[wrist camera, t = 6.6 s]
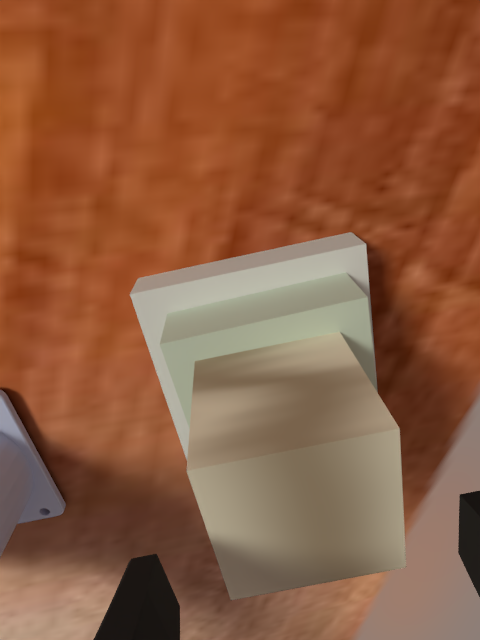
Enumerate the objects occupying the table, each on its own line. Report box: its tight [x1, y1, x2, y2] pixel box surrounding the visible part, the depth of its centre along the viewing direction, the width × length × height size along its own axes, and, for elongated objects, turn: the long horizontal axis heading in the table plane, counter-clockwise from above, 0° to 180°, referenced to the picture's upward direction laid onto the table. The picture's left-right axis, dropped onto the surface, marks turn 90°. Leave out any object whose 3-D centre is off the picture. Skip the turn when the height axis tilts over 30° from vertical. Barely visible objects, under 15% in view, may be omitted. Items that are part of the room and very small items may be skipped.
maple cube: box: [187, 332, 406, 600], centre depth 13 cm, size 5×5×5 cm
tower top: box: [160, 272, 377, 429], centre depth 16 cm, size 7×7×2 cm
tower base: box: [130, 232, 378, 459], centre depth 19 cm, size 9×9×2 cm
